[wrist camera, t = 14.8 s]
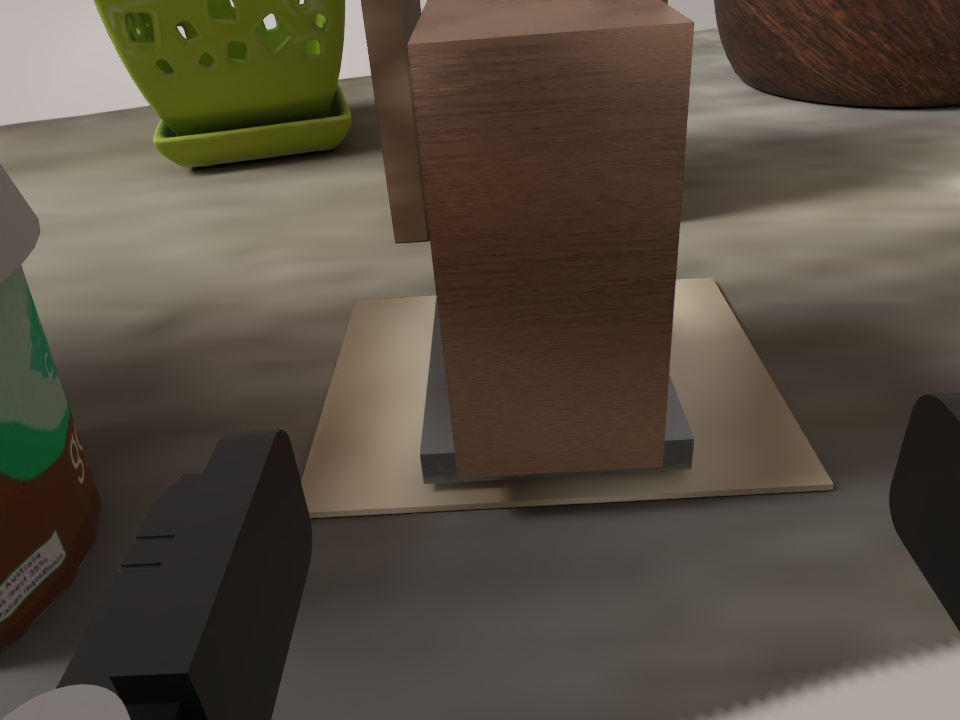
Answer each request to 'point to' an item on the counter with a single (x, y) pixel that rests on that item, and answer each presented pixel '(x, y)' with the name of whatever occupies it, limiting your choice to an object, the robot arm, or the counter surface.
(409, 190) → the tunnel
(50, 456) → the food container
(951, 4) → the wooden bowl
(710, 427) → the pad
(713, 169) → the counter surface
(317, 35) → the flower pot
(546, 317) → the tall wood-grain block
